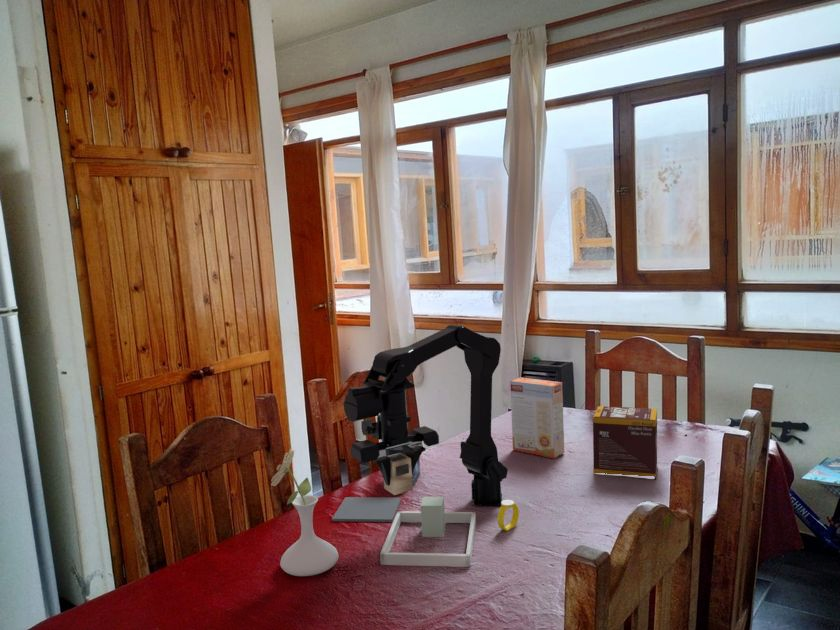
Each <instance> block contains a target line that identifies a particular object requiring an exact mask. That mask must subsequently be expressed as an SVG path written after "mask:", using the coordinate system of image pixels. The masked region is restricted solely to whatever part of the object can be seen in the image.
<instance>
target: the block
mask: <svg viewBox="0 0 840 630" xmlns="http://www.w3.org/2000/svg"><path fill="white" fill-rule="evenodd" d="M420 511H421V522H420V523H421V536H422V538H444V535H445V532H446V523H445V512H446V511H445V497H444V496H422V499H421V503H420Z"/></svg>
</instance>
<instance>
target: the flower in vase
mask: <svg viewBox="0 0 840 630" xmlns="http://www.w3.org/2000/svg"><path fill="white" fill-rule="evenodd" d="M294 455H295V449H292V448H290V449H289V451H288V452H285V454H284V456H283V460H282V464H278V465H277V467H276V471H277V472H276V473H275V475H274V476H273V477H272V478H271V481H270V482H271V483H270V485H271V487H272V486H273V487H276V486H277V485H278V484H279V483H280V482H281V481H282V480H283V477H284V476H285V474H286V473H289V475H290V476H291V478H292V481H294V484H295V486H296V488H297V490H296V491H294V492H293V493H292V494H291V495H290V496H289V498H288V499H287V502H286V503H287V504H286V505H289V504H292V506H294V507H295V509H296V511H297V512H298V515H299V516H298V517H299V519H300V528H301V532H300V537H299V538H298V539H297V540H296V542H294V543H293V544H291V546H289V547H288V548H287V549H286V550H285V552H284V553H283V554H282V556H281V559H280V560H279V561H280V562H279V564H280V565H279V566H280V568H281V569H282V570H283V571H284V572H285V573H287V574H288V575H291V576H295V577H310V576H315V575H319V574H322V573H324V572H327V571H329V570H330V569H331V568H332V567H334V566H335V565H336V563H338V562H337V561H339V553H338V549H337V548H336V547H335V546H333V544H331V542H328V541H326V540H324V539H322V538H320V537H318V536H317V535H316V534H315V532H314V531H315V530H314V527H313V526H314V525H313V524H314V523H313V519H314V518H313V516H314V515H313V514H314V508H315V507H316V504H317V502H318V501H319V498H318V496H315V495H312V494H309V493H310V492H311V491H312V486H311V483H310V480H309V478H308V477H306V478H305V479H303V481H301V483H300V484H298V482H297V480H296V478H295V476H294V475H293V473H292V471H291V470H290V466H291V464H292V461H293V458H294ZM298 494H299V495H300V496H298Z"/></svg>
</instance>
